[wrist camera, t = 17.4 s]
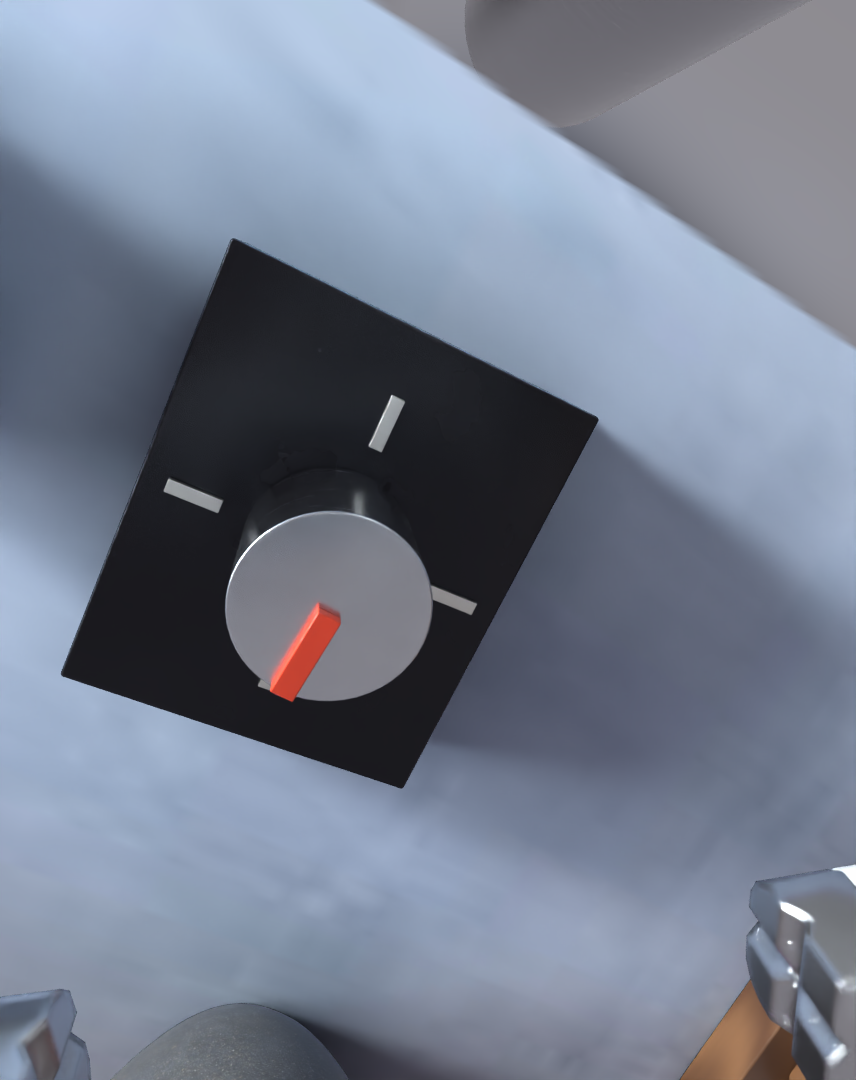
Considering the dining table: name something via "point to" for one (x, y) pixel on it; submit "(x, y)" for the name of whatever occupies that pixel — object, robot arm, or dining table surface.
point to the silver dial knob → (328, 587)
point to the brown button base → (746, 1046)
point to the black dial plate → (309, 442)
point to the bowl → (235, 1049)
